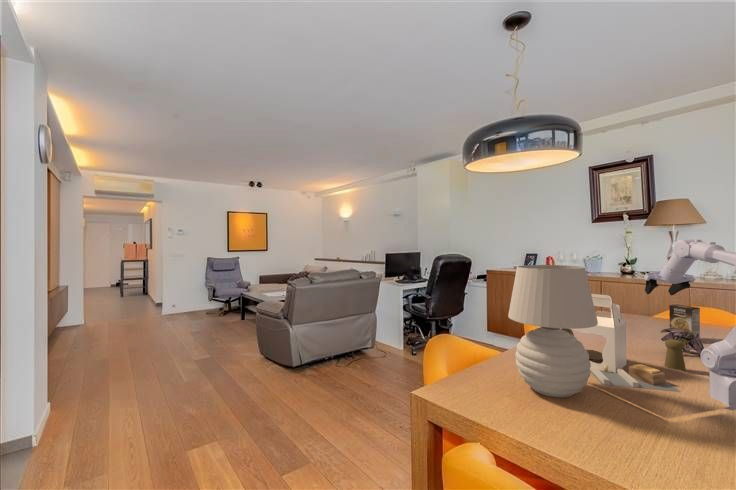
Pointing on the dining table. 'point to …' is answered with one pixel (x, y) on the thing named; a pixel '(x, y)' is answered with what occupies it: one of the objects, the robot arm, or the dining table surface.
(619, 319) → the gable box
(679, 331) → the decorative flower
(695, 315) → the food box
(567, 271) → the table lamp
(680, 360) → the cork
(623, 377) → the board
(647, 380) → the wooden box
